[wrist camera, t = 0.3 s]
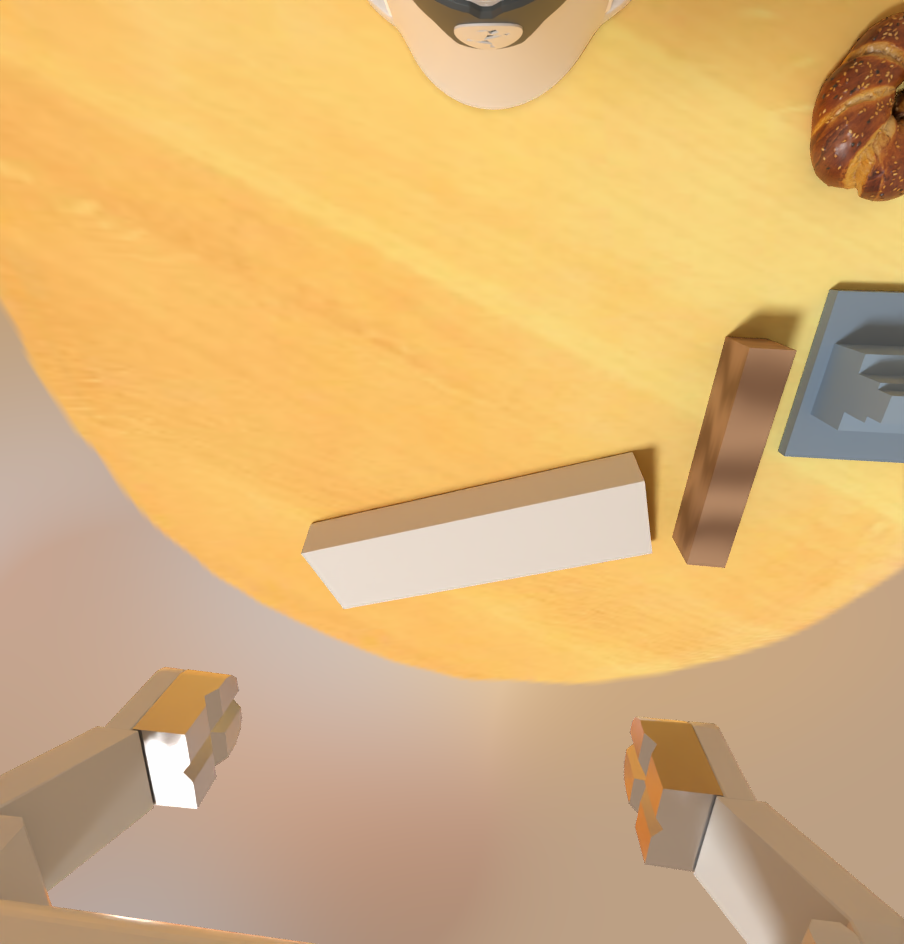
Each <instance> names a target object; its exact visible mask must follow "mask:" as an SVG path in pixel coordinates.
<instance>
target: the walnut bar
mask: <svg viewBox="0 0 904 944" xmlns="http://www.w3.org/2000/svg"><path fill="white" fill-rule="evenodd" d="M795 354H796V350H794V349H791V348H789V347H786V346H784V345H782V344H779V343H777V342H774V341H772V340H769V339H759V338H742V337H726V338H725V342H724V345H723V349H722V353H721V357H720V360H719V364H718V368H717V372H716V375H715V379H714V383H713V386H712V390H711V394H710V398H709V401H708V405H707V409H706V413H705V416H704V420H703V424H702V428H701V431H700V435H699V439H698V443H697V446H696V450H695V454H694V458H693V461H692V465H691V469H690V472H689V476H688V480H687V484H686V487H685V491H684V495H683V499H682V502H681V506H680V510H679V514H678V517H677V521H676V525H675V529H674V532H673V536H672V537H673V539H674V541H675V543H676V545H677V547H678V548H679V550H680V552H681V554H682V556H683V558H684V560H685V562H686V563H687V564H689V565H700V566H711V567H722V568H725V566H726V563H727V560H728V557H729V554H730V551H731V547H732V544H733V541H734V538H735V535H736V532H737V529H738V526H739V523H740V520H741V517H742V514H743V511H744V508H745V505H746V502H747V499H748V496H749V493H750V490H751V487H752V484H753V481H754V478H755V475H756V472H757V469H758V466H759V463H760V460H761V457H762V454H763V451H764V448H765V444H766V441H767V438H768V435H769V432H770V429H771V426H772V423H773V420H774V417H775V414H776V411H777V408H778V405H779V402H780V399H781V396H782V393H783V390H784V387H785V384H786V381H787V378H788V375H789V372H790V369H791V366H792V363H793V360H794V357H795Z"/></svg>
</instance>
